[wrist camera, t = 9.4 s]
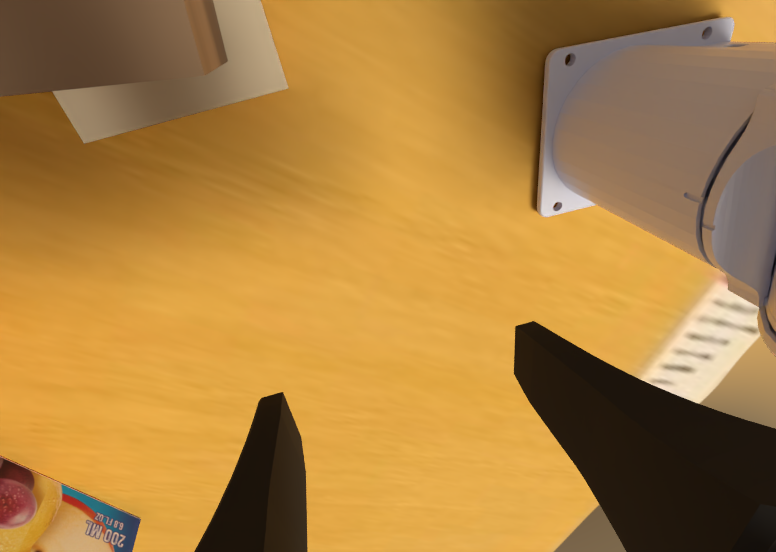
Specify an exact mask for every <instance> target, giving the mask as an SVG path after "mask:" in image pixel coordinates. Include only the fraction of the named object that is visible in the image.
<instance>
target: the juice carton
mask: <svg viewBox="0 0 776 552" xmlns="http://www.w3.org/2000/svg"><path fill="white" fill-rule="evenodd" d="M140 520H141V519H140V518H138V517H136V516H134V515H131V514H129V513H127V512H125V511H123V510H120V509H118V508H116V507H114V506H111V505H109V504H107V503H105V502H102V501H100V500H98V499H96V498H93V497H91V496H89V495H87V494H84V493H82V492H80V491H78V490H76V489H73V488H71V487H69V486H67V485H64V484H62V483H60V482H58V481H55V480H53V479H51V478H49V477H46V476H44V475H42V474H40V473H37V472H35V471H33V470H31V469H29V468H26V467H24V466H22V465H20V464H17V463H15V462H13V461H11V460H8V459H6V458H4V457H2V456H0V552H132V550H133V546H134V543H135V539H136V535H137V531H138V528H139V524H140Z"/></svg>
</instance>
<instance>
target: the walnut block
mask: <svg viewBox="0 0 776 552" xmlns="http://www.w3.org/2000/svg"><path fill="white" fill-rule="evenodd" d="M226 62H228V59H227V55H226V51H225V47H224V43H223V39H222V35H221V31H220V27H219V23H218V19H217V15H216V11H215V7H214V3H213V0H0V97H1V96H11V95H21V94H31V93H40V92H50V91H60V90H70V89H80V88H90V87H99V86H109V85H119V84H129V83H139V82H148V81H158V80H168V79H178V78H188V77H197V76H205V75H207V74H208V73H210V72H212V71H213V70H215V69H216V68H218V67H220V66H221V65H223V64H225V63H226Z"/></svg>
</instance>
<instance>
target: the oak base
mask: <svg viewBox="0 0 776 552" xmlns="http://www.w3.org/2000/svg"><path fill="white" fill-rule="evenodd" d="M213 3H214V7H215V11H216V15H217V19H218V23H219V27H220V31H221V35H222V39H223V43H224V47H225V51H226V55H227V59H228V62H226V63H225V64H223V65H221V66H220V67H218V68H216V69H215V70H213V71H212V72H210V73H208V74H207V75H205V76H197V77H188V78H178V79H168V80H158V81H148V82H139V83H129V84H119V85H109V86H99V87H90V88H80V89H70V90H60V91H52V92H53V94H54V95H55V97H56V99H57V100H58V102H59V104H60V105H61V107H62V108H63V110H64V112H65V113H66V115H67V117H68V118H69V120H70V121H71V123H72V125H73V126H74V128H75V130H76V131H77V133H78V134H79V136H80V138H81V139H82V141H83V143H84V144H85V143H89V142H92V141H96V140H100V139H103V138H107V137H111V136H115V135H118V134H122V133H126V132H129V131H133V130H137V129H140V128H144V127H148V126H152V125H155V124H159V123H163V122H166V121H170V120H174V119H177V118H181V117H185V116H189V115H192V114H196V113H200V112H203V111H207V110H211V109H214V108H218V107H222V106H225V105H229V104H233V103H237V102H240V101H244V100H248V99H251V98H255V97H259V96H262V95H266V94H270V93H274V92H277V91H281V90H285V89H288V85H287V81H286V78H285V75H284V72H283V69H282V66H281V63H280V60H279V56H278V53H277V50H276V47H275V44H274V41H273V38H272V35H271V31H270V28H269V25H268V22H267V19H266V16H265V13H264V10H263V6H262V3H261V0H213Z"/></svg>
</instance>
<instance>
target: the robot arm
mask: <svg viewBox="0 0 776 552" xmlns="http://www.w3.org/2000/svg"><path fill="white" fill-rule="evenodd" d="M733 29H734V20H733V19H732V18H731V17H720V18H715V19H710V20H705V21H699V22H694V23H689V24H683V25H678V26H673V27H668V28H662V29H657V30H652V31H647V32H641V33H636V34H631V35H626V36H620V37H615V38H610V39H604V40H599V41H594V42H589V43H583V44H578V45H573V46H568V47H562V48H557V49H554V50H552V51H551V52H550V53H549V54H548V56H547V58H546V62H545V76H544V93H543V111H542V128H541V145H540V162H539V180H538V197H537V212H538V213H539V214H540V215H541V216H543V217H550V216H554V215H558V214H562V213H566V212H570V211H574V210H578V209H582V208H586V207H590V206H594V205H598V206H600V207H602V208H604V209H606V210H608V211H609V212H611V213H613V214H615V215H617V216H619V217H621V218H623V219H625V220H626V221H628V222H630V223H632V224H634V225H636V226H638V227H640V228H642V229H643V230H645V231H647V232H649V233H651V234H653V235H655V236H657V237H659V238H660V239H662V240H664V241H666V242H668V243H670V244H672V245H674V246H675V247H677V248H679V249H681V250H683V251H685V252H687V253H689V254H691V255H692V256H694V257H696V258H698V259H700V260H702V261H704V262H706V263H708V264H709V265H711V266H713V267H715V268H718V269H719V270H721V271H722V272H723V273H725V275H726V277H727V279H728V290H729V291H731V292H733V293H735V294H736V295H738V296H740V297H742V298H744V299H745V300H747V301H749V302H751V303H752V304H754V305H756V306H758V307H759V312H758V316H757V320H758V328H759V331H760V334H761V336H762V339H763V341H764V342H765V344H766V345H767V347H768V348H769V350H770V351H771V352H772V354H774V356H776V43H768V42H730V40H731V37H732V33H733ZM704 30H705V32H704V35H703V36H702V33H703V31H704ZM568 54H570V61H569V63H568V64H567V65H566V64H565V58H566V56H567V55H568ZM557 202H558V204H557V206H556V207H555V208H553V206H554V204H555V203H557ZM514 375H515V376H516V378H517V380H518V382H519V384H520V386H521V388H522V390H523V391H524V393H525V395H526V397H527V398H528V400H529V402H530V403H531V405H532V406H533V408H534V409H535V410H536V412H537V413H538V415H539V416H540V417H541V419H542V420H543V422H544V423H545V424H546V426H547V427H548V428H549V430H550V431H551V433H552V434H553V435H554V437H555V438H556V439H557V441H558V442H559V443H560V445H561V446H562V448H563V449H564V450H565V452H566V453H567V454H568V456H569V457H570V459H571V460H572V461H573V463H574V464H575V465H576V467H577V468H578V470H579V471H580V473H581V474H582V476H583V477H584V479H585V481H586V482H587V484H588V486H589V487H590V489H591V491H592V492H593V494H594V496H595V497H596V499H597V501H598V502H599V504H600V506H601V507H602V509H603V511H604V513H605V514H606V516H607V518H608V520H609V521H610V523H611V525H612V527H613V528H614V530H615V532H616V534H617V535H618V537H619V539H620V541H621V542H622V544H623V546H624V548H625V550H626V551H627V552H776V429H775V428H771V427H768V426H764V425H761V424H758V423H754V422H751V421H747V420H744V419H741V418H738V417H735V416H732V415H729V414H726V413H723V412H720V411H717V410H714V409H712V408H708V407H706V406H703V405H700V404H698V403H695V402H692V401H690V400H687V399H684V398H682V397H679V396H677V395H675V394H672V393H670V392H667V391H665V390H663V389H660V388H658V387H656V386H653V385H651V384H649V383H647V382H644V381H642V380H640V379H638V378H636V377H634V376H632V375H630V374H628V373H626V372H624V371H622V370H620V369H618V368H616V367H614V366H612V365H610V364H608V363H606V362H604V361H602V360H601V359H599V358H597V357H595V356H593V355H591V354H590V353H588V352H586V351H584V350H583V349H581V348H579V347H577V346H576V345H574V344H572V343H570V342H569V341H567V340H565V339H564V338H562V337H560V336H558V335H557V334H555V333H553V332H552V331H550V330H548V329H547V328H545V327H543V326H541V325H540V324H538V323H536V322H534V321H532V322H529V323H525V324H522V325H518V326H516V327H515V357H514ZM194 552H307V509H306V471H305V463H304V455H303V448H302V441H301V436H300V433H299V431H298V428H297V426H296V423H295V421H294V418H293V416H292V414H291V411H290V409H289V406H288V404H287V401H286V399H285V396H284V394H283V392H281V393H277V394H274V395H270V396H267V397H263V398H261V399H260V401H259V403H258V406H257V410H256V413H255V416H254V419H253V422H252V425H251V428H250V431H249V434H248V436H247V439H246V442H245V445H244V447H243V450H242V452H241V455H240V457H239V460H238V462H237V465H236V467H235V470H234V472H233V475H232V477H231V479H230V481H229V484H228V486H227V488H226V490H225V492H224V495H223V497H222V499H221V501H220V503H219V505H218V508H217V510H216V512H215V514H214V516H213V518H212V520H211V522H210V524H209V525H208V527H207V529H206V531H205V533H204V535H203V537H202V539H201V540H200V542H199V544H198V546H197V548H196V550H195V551H194Z"/></svg>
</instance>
